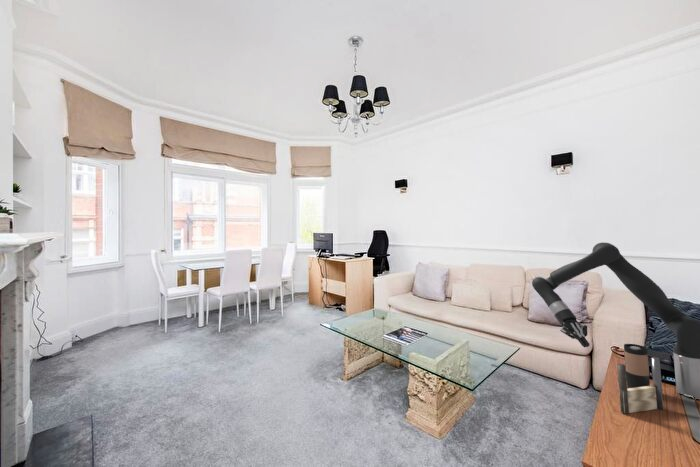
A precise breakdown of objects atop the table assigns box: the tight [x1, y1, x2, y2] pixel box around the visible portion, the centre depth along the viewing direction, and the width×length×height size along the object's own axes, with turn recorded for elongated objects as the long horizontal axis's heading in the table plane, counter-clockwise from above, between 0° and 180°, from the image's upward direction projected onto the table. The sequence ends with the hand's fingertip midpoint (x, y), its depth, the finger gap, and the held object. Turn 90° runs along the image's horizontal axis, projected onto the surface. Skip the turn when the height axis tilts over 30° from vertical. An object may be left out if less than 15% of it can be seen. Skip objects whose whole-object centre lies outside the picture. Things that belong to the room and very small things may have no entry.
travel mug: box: [623, 343, 651, 389], centre depth 130 cm, size 8×8×20 cm
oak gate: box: [616, 363, 658, 415], centre depth 116 cm, size 15×2×18 cm, turn 98°
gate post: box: [650, 356, 664, 411], centre depth 118 cm, size 2×2×20 cm
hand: (587, 346), depth 130 cm, fingers closed
